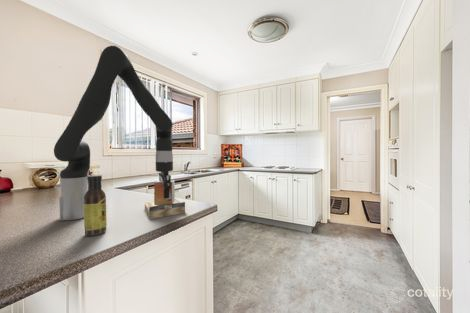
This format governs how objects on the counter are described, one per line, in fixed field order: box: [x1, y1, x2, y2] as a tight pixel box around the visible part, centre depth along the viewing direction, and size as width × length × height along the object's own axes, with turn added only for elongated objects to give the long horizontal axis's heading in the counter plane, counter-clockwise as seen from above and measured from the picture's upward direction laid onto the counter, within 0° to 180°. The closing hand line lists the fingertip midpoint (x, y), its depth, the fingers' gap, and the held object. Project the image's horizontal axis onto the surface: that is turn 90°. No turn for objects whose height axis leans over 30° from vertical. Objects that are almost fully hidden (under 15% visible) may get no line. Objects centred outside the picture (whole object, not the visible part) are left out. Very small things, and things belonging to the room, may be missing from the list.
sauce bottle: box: [83, 174, 107, 237], centre depth 69 cm, size 6×6×20 cm
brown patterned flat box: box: [144, 198, 186, 219], centre depth 94 cm, size 15×16×5 cm
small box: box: [153, 179, 176, 205], centre depth 92 cm, size 8×6×10 cm
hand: (164, 196), depth 92 cm, fingers closed on small box, 7 cm apart
